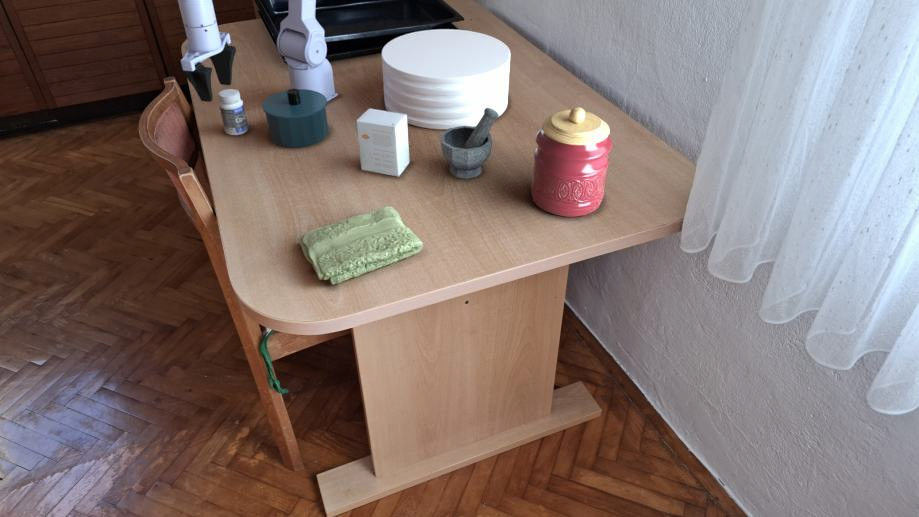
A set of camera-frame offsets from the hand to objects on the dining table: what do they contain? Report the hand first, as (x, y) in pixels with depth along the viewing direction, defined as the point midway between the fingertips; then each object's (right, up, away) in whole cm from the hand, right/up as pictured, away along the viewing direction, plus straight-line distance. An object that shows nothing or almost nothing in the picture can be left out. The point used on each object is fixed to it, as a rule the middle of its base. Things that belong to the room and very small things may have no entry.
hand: (216, 92), depth 128 cm
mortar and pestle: (+49, -15, -2) cm, 52 cm away
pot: (+14, -6, +8) cm, 18 cm away
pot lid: (+14, -1, +4) cm, 15 cm away
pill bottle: (+1, -6, +9) cm, 11 cm away
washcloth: (+32, -31, -22) cm, 50 cm away
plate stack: (+44, +3, +22) cm, 50 cm away
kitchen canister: (+67, -22, -9) cm, 71 cm away
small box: (+33, -15, -1) cm, 36 cm away
